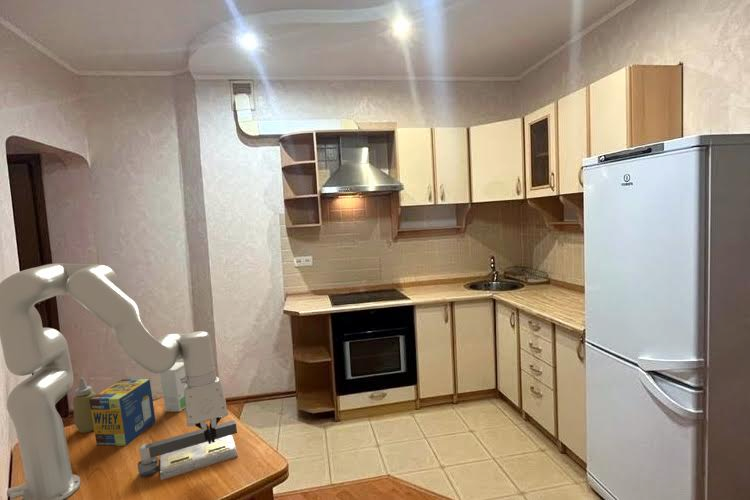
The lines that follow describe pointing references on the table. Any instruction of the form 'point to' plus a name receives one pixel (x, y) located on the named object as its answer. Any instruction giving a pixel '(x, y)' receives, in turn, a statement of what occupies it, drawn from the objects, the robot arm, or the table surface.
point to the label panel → (197, 456)
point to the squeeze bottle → (83, 407)
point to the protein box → (122, 412)
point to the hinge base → (148, 468)
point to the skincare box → (173, 388)
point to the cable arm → (183, 441)
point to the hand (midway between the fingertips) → (211, 440)
